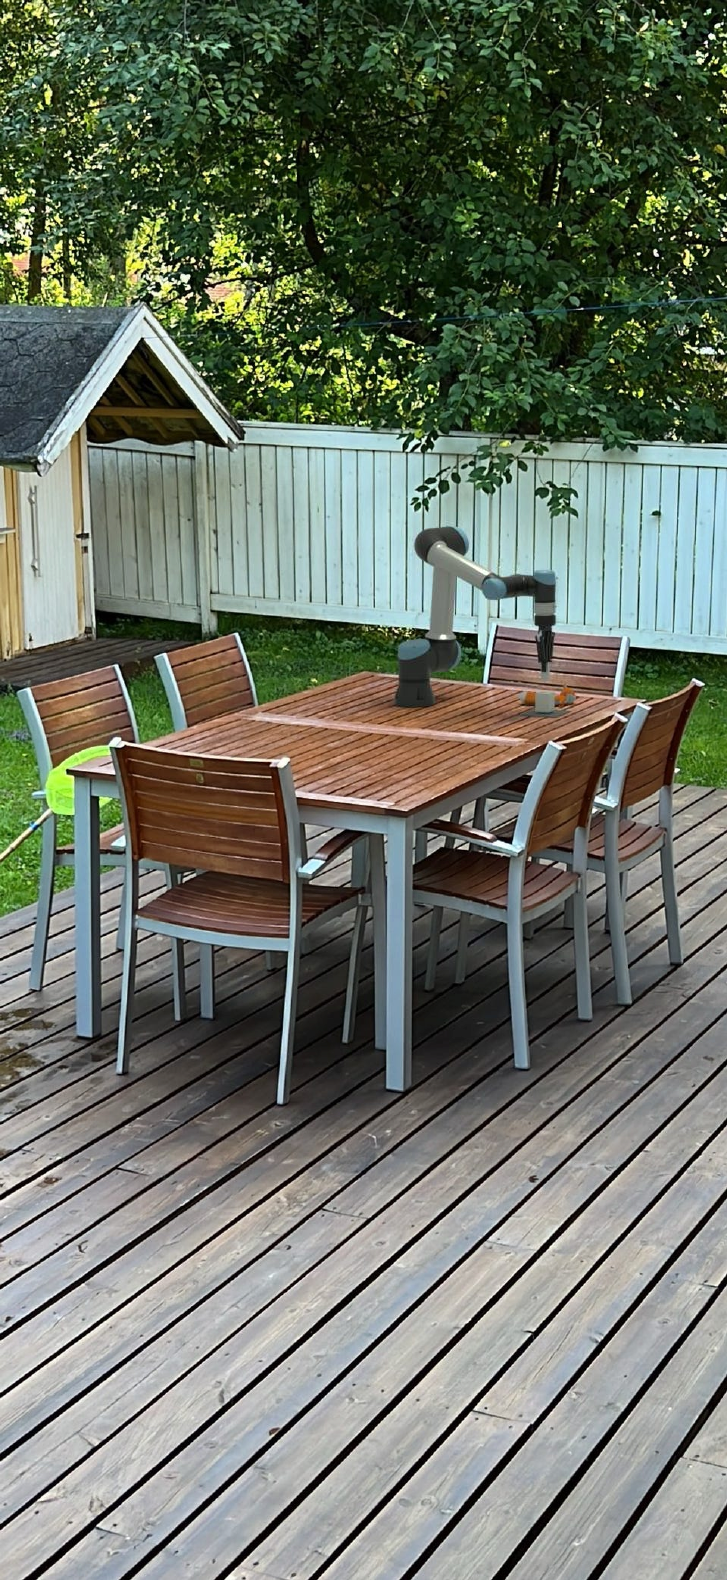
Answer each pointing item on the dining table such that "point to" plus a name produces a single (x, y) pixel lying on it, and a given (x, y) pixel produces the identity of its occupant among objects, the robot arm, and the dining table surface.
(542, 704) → the light grey block
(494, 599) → the robot arm
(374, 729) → the dining table surface
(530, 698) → the toy
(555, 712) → the mat
